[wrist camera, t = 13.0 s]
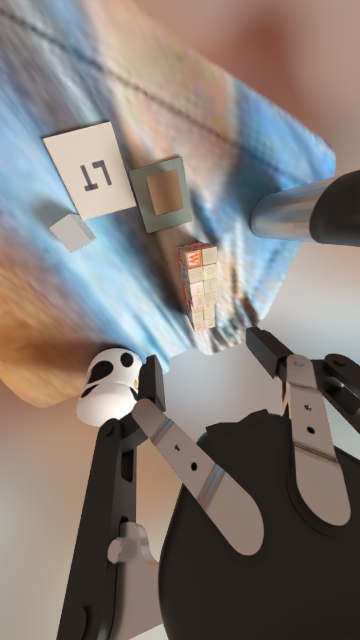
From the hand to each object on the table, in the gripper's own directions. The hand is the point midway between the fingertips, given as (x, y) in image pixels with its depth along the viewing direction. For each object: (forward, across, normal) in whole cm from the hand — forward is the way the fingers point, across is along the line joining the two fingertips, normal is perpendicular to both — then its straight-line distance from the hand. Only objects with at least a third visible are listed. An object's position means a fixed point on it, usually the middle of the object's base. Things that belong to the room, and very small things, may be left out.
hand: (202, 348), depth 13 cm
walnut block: (+32, -3, -14) cm, 35 cm away
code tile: (+33, +9, -20) cm, 40 cm away
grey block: (+33, +17, -12) cm, 39 cm away
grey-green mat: (+33, -3, -14) cm, 36 cm away
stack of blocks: (+34, -6, +7) cm, 35 cm away
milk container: (+33, +26, +28) cm, 51 cm away
